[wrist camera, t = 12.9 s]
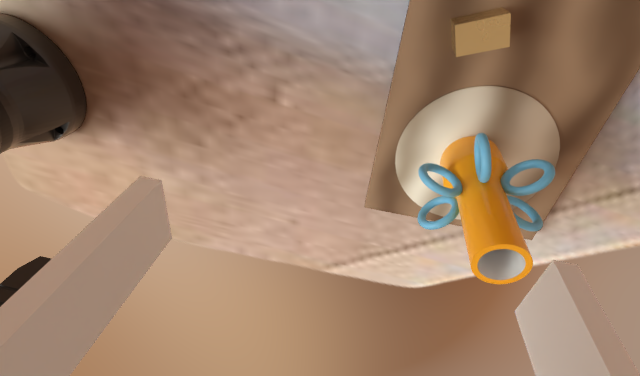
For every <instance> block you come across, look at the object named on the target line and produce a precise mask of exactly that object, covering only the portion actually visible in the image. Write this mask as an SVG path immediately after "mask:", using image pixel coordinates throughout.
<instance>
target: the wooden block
mask: <svg viewBox="0 0 640 376" xmlns="http://www.w3.org/2000/svg"><path fill="white" fill-rule="evenodd" d="M510 22H511V13H510V12H508V11H507V10H505V9H504V8H502V7H500V8H496V9H491V10H487V11H482V12H478V13H474V14H469V15H465V16H460V17H456V18H451V35H452V49H453V51H454V53H455V56H456V57H460V56H465V55H470V54H475V53H480V52H486V51H491V50H496V49H501V48H506V47H510Z"/></svg>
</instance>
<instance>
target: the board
mask: <svg viewBox="0 0 640 376" xmlns="http://www.w3.org/2000/svg"><path fill="white" fill-rule="evenodd" d="M500 7H502V8H504V9H505V10H507V11H508V12H510V13H511V22H510V47H506V48H501V49H496V50H491V51H486V52H480V53H475V54H470V55H465V56H460V57H456V56H455V53H454V51H453V49H452V35H451V18H456V17H460V16H465V15H469V14H474V13H478V12H482V11H487V10H491V9H496V8H500ZM639 68H640V0H410V1H409V6H408V10H407V15H406V19H405V24H404V29H403V33H402V38H401V42H400V47H399V51H398V56H397V60H396V65H395V69H394V74H393V78H392V83H391V87H390V92H389V96H388V101H387V105H386V110H385V115H384V119H383V124H382V128H381V133H380V137H379V142H378V146H377V151H376V155H375V160H374V164H373V169H372V173H371V178H370V182H369V187H368V191H367V196H366V201H365V207H366V208H371V209H376V210H381V211H386V212H391V213H396V214H401V215H406V216H412V217H417V218H418V214H419V211H420V210H421V208H422V207H423V206H424V205H425V204H426V203H427V202H429V201H430V200H432V199H434V198H436V197H440V196H442V195H440V194H437V193H436V192H434V191H432V190H431V189H429V188H428V187H427V186H426V185H425V184H424V183H423V182H422V180H421V179H420V177H419V174H418V170H419V168H420V166H421V165H423V164H426V163H433V164H437V165H440V159H441V156H442V154H443V152H444V150H445V149H446V148H447V147H448V146H449V145H450V144H451V143H452V142H454V141H456V140H458V139H460V138H463V137H468V136H476V135H477V134H479V133H484V134H486V135H487V137H488V139H489V140H491V141H492V142H493V143H495V144H496V146H497V147H498V148H499V150H500V152H501V154H502V156H503V159H504V161H505V163H506V165H507V167H508V169H509V168H511V167H512V166H514V165H516V164H518V163H520V162H523V161H527V160H532V159H541V160H546V161H548V162H550V163H551V164H552V165H553V166H554V168H555V176H554V179H553V180H552V182H551V183H550V184H549V185H548V186H546V187H545V188H544V189H542V190H540V191H538V192H536V193H533V194H530V195H525V196H513V195H509V194H507V193H506V195H509V196H513V197H516V198H519V199H521V200H522V201H524V202H526V203H527V204H529V205H530V206H531V207H532V208H533V209H535V210H536V212H537V213H538V214H539V215H540V217H541V218H542V221H544V220H545V218H546V216H547V215H548V213H549V212H550V210H551V208H552V207H553V205H554V204H555V202H556V200H557V199H558V197H559V196H560V194H561V193H562V191H563V189H564V188H565V186H566V185H567V183H568V181H569V180H570V178H571V177H572V175H573V173H574V172H575V170H576V169H577V167H578V165H579V164H580V162H581V161H582V159H583V157H584V156H585V154H586V153H587V151H588V149H589V148H590V146H591V145H592V143H593V141H594V140H595V138H596V137H597V135H598V133H599V132H600V130H601V129H602V127H603V126H604V124H605V122H606V121H607V119H608V118H609V116H610V114H611V113H612V111H613V110H614V108H615V106H616V105H617V103H618V102H619V100H620V98H621V97H622V95H623V94H624V92H625V90H626V89H627V87H628V86H629V84H630V82H631V81H632V79H633V78H634V76H635V74H636V73H637V71H638V70H639ZM427 173H428V175H429V176H430V177H431V178H432V179H433V180H434V181H435V182H436V183H438V184H440V185H442V186H443V181H442V175H440V174H438V173H435V172H431V171H428V172H427ZM543 174H544V170H543V169H540V168H531V169H527V170H524V171H521V172H519V173H518V174H516V175H515V176H514V177H513V178H512V179H511V180H510V185H512V186H515V187H522V186H527V185H530V184H532V183H534V182H536V181H538V180H539V179H540V178H541V177H542V176H543ZM510 205H511V208H512V210H513V212H514V213H515V214H516V215H517V216H519V217H520V218H522V219H524V220H525V221H528V222H531V223H533V222H532V220H531V218H530V217H529V216H528V215H527V214H526V213H525V212H524V211H522V210H521V209H520V208H518V207H516V206H514V205H512V204H510ZM451 207H452V206H451V204H448V203H444V204H440V205H437V206H435V207H434V208H432V209H431V210H430V211H429V212H428V214H427V215H426V219H427V220H432V221H436V220H439V219H441V218H443V217H444V216H446V215H447V214H448V213H449V211H450V210H451ZM449 224H452V225H458V226H462V222H461V217H460V212H459V214H458V216H457V217H456V218H455V219H454V220H453V221H452V222H451V223H449ZM519 228H520V227H519ZM520 230H521V233H522V235H523V238H524V239H529V240H532V239H533V237H534V236H535V234H536V232H537V231H535V232H532V231H527V230H524V229H522V228H520Z"/></svg>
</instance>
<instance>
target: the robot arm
mask: <svg viewBox="0 0 640 376" xmlns="http://www.w3.org/2000/svg"><path fill="white" fill-rule="evenodd" d="M85 114H86V99H85V94H84V90H83V87H82V85H81V82H80V80H79V78H78V76H77V74H76V72H75V70H74V68H73V67H72V65H71V64H70V62H69V61H68V59H67V58H66V57H65V55H64V54H63V53H62V52H61V51H60V50H59V48H58V47H57V46H56V45H55V44H54V43H53V42H52V41H51V40H50V39H49V38H47V37H46V36H45V35H44V34H43V33H41V32H40V31H39V30H37V29H36V28H34V27H33V26H31V25H30V24H28V23H26V22H24V21H22V20H20V19H18V18H15V17H13V16H9V15H6V14H0V153H2V152H4V151H6V150H8V149H12V148H17V147H23V146H29V145H34V144H40V143H46V142H51V141H56V140H59V139H61V138H63V137H65V136H67V135H68V134H70V133H72V132H74V131H75V130H77V129H78V128H79V127H80V126H81V124H82V123H83V120H84V118H85ZM171 239H172V235H171V230H170V224H169V219H168V213H167V208H166V202H165V197H164V191H163V186H162V180H157V179H153V178H148V177H143V176H140V177H139V178H138V179H137V180H136V181H135V182H134V183H132V184H131V185H130V186H129V187H128V188H127V189H126V190H125V191H124V192H123V193H122V194H121V195H120V196H119V197H117V198H116V199H115V200H114V201H113V202H112V203H111V204H110V205H109V206H108V207H107V208H106V209H105V210H104V211H102V212H101V213H100V214H99V215H98V216H97V217H96V218H95V219H94V220H93V221H92V222H91V223H90V224H89V225H87V226H86V227H85V228H84V229H83V230H82V231H81V232H80V233H79V234H78V235H77V236H76V237H75V238H74V239H72V240H71V241H70V242H69V243H68V244H67V245H66V246H65V247H64V248H63V249H62V250H61V251H60V252H59V253H58V254H56V255H55V256H54V257H53V258H52V259H50V258H46V257H41V256H40V257H38V258H36V259H34V260H33V261H31V262H29V263H27V264H25V265H23V266H21V267H20V268H18V269H17V270H16V271H14V272H13V273H12V274H11V275H10V276H9V277H8V278H6V279H5V280H4V281H3V282H2V283H1V284H0V376H70V374H71V373H72V372H73V370H74V369H75V368H76V366H77V365H78V364H79V362H80V361H81V360H82V358H83V357H84V356H85V354H86V353H87V352H88V350H89V349H90V347H91V346H92V345H93V343H94V342H95V341H96V339H97V338H98V337H99V335H100V334H101V333H102V331H103V330H104V329H105V327H106V326H107V324H108V323H109V322H110V320H111V319H112V318H113V317H114V315H115V314H116V313H117V311H118V310H119V308H120V307H121V306H122V304H123V303H124V302H125V300H126V299H127V298H128V296H129V295H130V294H131V292H132V291H133V290H134V288H135V287H136V286H137V284H138V283H139V282H140V280H141V279H142V278H143V276H144V275H145V273H146V272H147V271H148V269H149V268H150V267H151V265H152V264H153V263H154V261H155V260H156V259H157V257H158V256H159V255H160V253H161V252H162V251H163V249H164V248H165V247H166V245H167V244H168V243H169V241H170V240H171ZM515 314H516V317H517V320H518V323H519V326H520V330H521V332H522V336H523V339H524V342H525V345H526V347H527V351H528V354H529V357H530V360H531V363H532V366H533V369H534V372H535V376H640V374H639V372H638V370H637V368H636V367H635V365H634V363H633V362H632V360H631V358H630V356H629V354H628V353H627V351H626V349H625V347H624V346H623V344H622V342H621V340H620V338H619V337H618V335H617V334H616V331H615V330H614V328H613V326H612V324H611V323H610V321H609V319H608V317H607V316H606V314H605V312H604V310H603V308H602V307H601V305H600V303H599V301H598V300H597V298H596V296H595V294H594V293H593V291H592V289H591V287H590V286H589V284H588V282H587V280H586V278H585V277H584V275H583V273H582V271H581V270H580V268H579V266H578V265H576V264H571V263H566V262H561V261H556V260H553V261H552V262H551V263H550V265H549V266H548V267H547V269H546V270H545V271H544V273H543V274H542V275H541V277H540V278H539V280H538V281H537V282H536V283H535V285H534V286H533V288H532V289H531V290H530V292H529V293H528V294H527V296H526V297H525V298H524V299H523V301H522V302H521V304H520V305H519V306H518V308H517V309H516V310H515Z"/></svg>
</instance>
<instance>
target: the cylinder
mask: <svg viewBox="0 0 640 376" xmlns="http://www.w3.org/2000/svg"><path fill="white" fill-rule="evenodd" d="M531 168H540V169H543V170H544V174H543V176H542V177H541V178H540V179H539V180H538V181H536V182H534V183H532V184H530V185H527V186H522V187H515V186H512V185H510V180H511V179H512V178H513V177H514V176H515V175H516V174H518V173H519V172H521V171H524V170H527V169H531ZM428 171H431V172H435V173H438V174H440V175H442V181H443V186H442V185H440V184H438V183H436V182H435V181H434V180H433V179H432V178H431V177H430V176H429V175H428V173H427V172H428ZM418 174H419V177H420V179H421V180H422V182H423V183H424V184H425V185H426V186H427V187H428V188H429V189H431V190H432V191H434V192H436V193H437V194H440V195H442V196H440V197H436V198H434V199H432V200H430V201H429V202H427V203H426V204H425V205H424V206H423V207H422V208H421V210H420V211H419V214H418V223H419V224H420V226H422V227H423V228H425V229H430V230H433V229H439V228H442V227H444V226H446V225H448V224H449V223H451V222H452V221H453V220H454V219H455V218H456V217H457V216H458V214H459V212H460V217H461V222H462V226H463V231H464V236H465V241H466V246H467V250H468V255H469V260H470V265H471V269H472V272H473V273H474V275H475V276H476V277H478V278H479V279H481V280H483V281H485V282H488V283H492V284H507V283H512V282H515V281H518V280H520V279H522V278H523V277H525V276H526V275H527V274H528V273H529V272H530V270H531V269H532V265H533V260H532V257H531V255H530V252H529V250H528V247H527V245H526V242H525V240H524V238H523V235H522V233H521V230H520V228H522V229H524V230H527V231H532V232H535V231H539V230H540V229H541V228H542V226H543V221H542V218H541V217H540V215H539V214H538V213H537V212H536V210H535V209H533V208H532V207H531V206H530V205H529V204H527V203H526V202H524V201H522V200H521V199H519V198H516V197H513V196H525V195H530V194H533V193H536V192H538V191H540V190H542V189H544V188H545V187H546V186H548V185H549V184H550V183H551V182H552V180H553V179H554V176H555V168H554V166H553V165H552V164H551V163H550V162H548V161H546V160H541V159H532V160H527V161H523V162H520V163H518V164H516V165H514V166H512V167H511V168H509V169H508V167H507V165H506V163H505V161H504V159H503V156H502V154H501V152H500V150H499V148H498V147H497V146H496V144H495V143H493V142H492V141H491V140H489V139H488V137H487V135H486V134H484V133H479V134H477V135H476V136H468V137H463V138H460V139H458V140H456V141H454V142H452V143H451V144H450V145H449V146H448V147H447V148H446V149H445V150H444V152H443V154H442V156H441V159H440V165H437V164H433V163H426V164H423V165H421V166H420V168H419V170H418ZM506 193H507V194H509V195H513V196H509V195H506ZM444 203H448V204H451V206H452V207H451V210H450V211H449V213H448V214H447V215H446V216H444V217H443V218H441V219H439V220H436V221H427V220H426V215H427V214H428V212H429V211H430V210H431V209H432V208H434V207H435V206H437V205H440V204H444ZM510 204H512V205H514V206H516V207H518V208H520V209H521V210H522V211H524V212H525V213H526V214H527V215H528V216H529V217H530V218H531V220H532V222H533V223H531V222H528V221H525V220H524V219H522V218H520V217H519V216H517V215H516V214H515V213H514V212H513V210H512V208H511V205H510ZM519 227H520V228H519Z"/></svg>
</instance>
